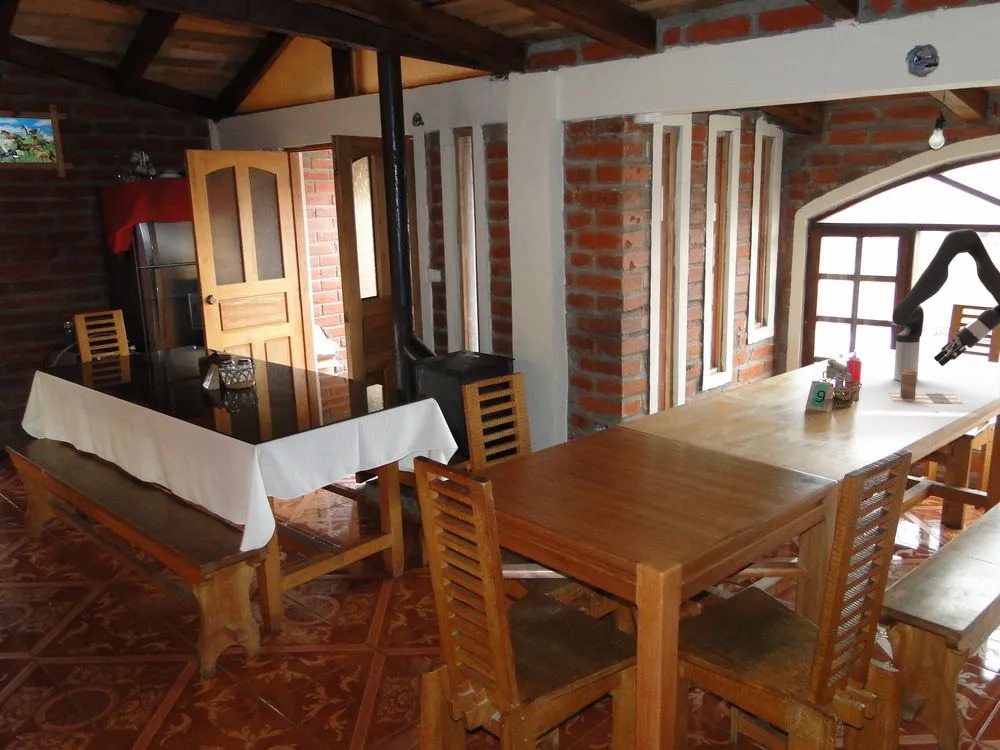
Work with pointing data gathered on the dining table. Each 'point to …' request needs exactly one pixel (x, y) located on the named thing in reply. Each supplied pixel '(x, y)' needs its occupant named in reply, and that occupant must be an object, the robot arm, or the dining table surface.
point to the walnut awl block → (908, 384)
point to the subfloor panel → (927, 398)
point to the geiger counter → (837, 370)
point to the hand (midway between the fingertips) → (937, 362)
